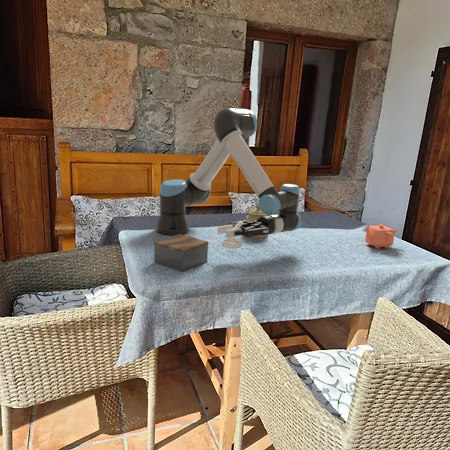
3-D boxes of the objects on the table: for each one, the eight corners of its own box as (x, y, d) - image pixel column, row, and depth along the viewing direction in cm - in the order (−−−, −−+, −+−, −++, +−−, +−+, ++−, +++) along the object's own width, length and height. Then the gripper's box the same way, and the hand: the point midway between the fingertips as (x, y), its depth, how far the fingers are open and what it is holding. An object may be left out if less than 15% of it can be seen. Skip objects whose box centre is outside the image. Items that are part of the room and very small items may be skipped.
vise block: (154, 262, 156) (154, 241, 154) (179, 253, 167) (179, 233, 165) (182, 271, 148) (183, 250, 146) (207, 261, 160) (208, 241, 157)
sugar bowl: (235, 230, 202) (237, 200, 198) (254, 228, 208) (256, 198, 204) (253, 239, 190) (255, 207, 186) (272, 236, 196) (275, 205, 192)
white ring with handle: (255, 236, 155) (241, 226, 152) (234, 258, 159) (220, 249, 156) (253, 226, 161) (239, 217, 159) (233, 248, 165) (219, 239, 163)
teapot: (368, 240, 199) (371, 219, 196) (394, 245, 193) (398, 223, 190) (361, 247, 187) (364, 225, 184) (389, 253, 181) (392, 230, 178)
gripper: (283, 239, 163) (236, 248, 149) (254, 228, 176) (208, 235, 163) (285, 221, 161) (237, 228, 147) (256, 210, 174) (209, 216, 161)
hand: (222, 232), depth 155 cm, fingers closed on white ring with handle, 4 cm apart
